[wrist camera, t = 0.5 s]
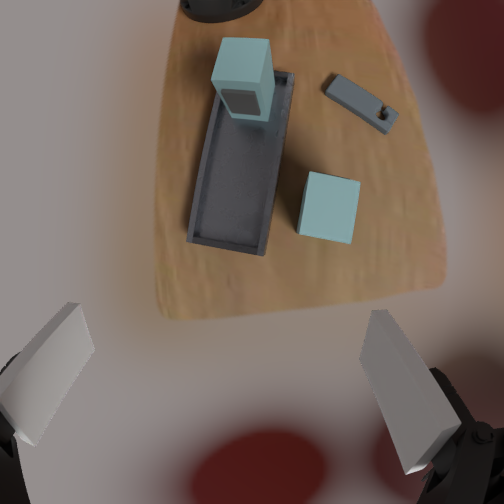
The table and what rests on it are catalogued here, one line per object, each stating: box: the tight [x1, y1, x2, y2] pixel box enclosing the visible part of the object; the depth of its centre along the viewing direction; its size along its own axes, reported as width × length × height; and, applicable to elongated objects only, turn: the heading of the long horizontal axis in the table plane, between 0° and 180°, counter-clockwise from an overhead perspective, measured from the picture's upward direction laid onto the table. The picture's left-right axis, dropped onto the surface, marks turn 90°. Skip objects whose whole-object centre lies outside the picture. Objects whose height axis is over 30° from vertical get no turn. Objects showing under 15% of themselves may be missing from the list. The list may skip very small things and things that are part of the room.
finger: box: [296, 172, 361, 244], centre depth 31 cm, size 6×5×11 cm
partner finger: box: [211, 38, 275, 122], centre depth 30 cm, size 6×5×11 cm
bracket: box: [325, 74, 399, 135], centre depth 34 cm, size 4×10×2 cm, turn 56°
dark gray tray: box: [186, 71, 294, 256], centre depth 36 cm, size 25×10×3 cm, turn 170°
